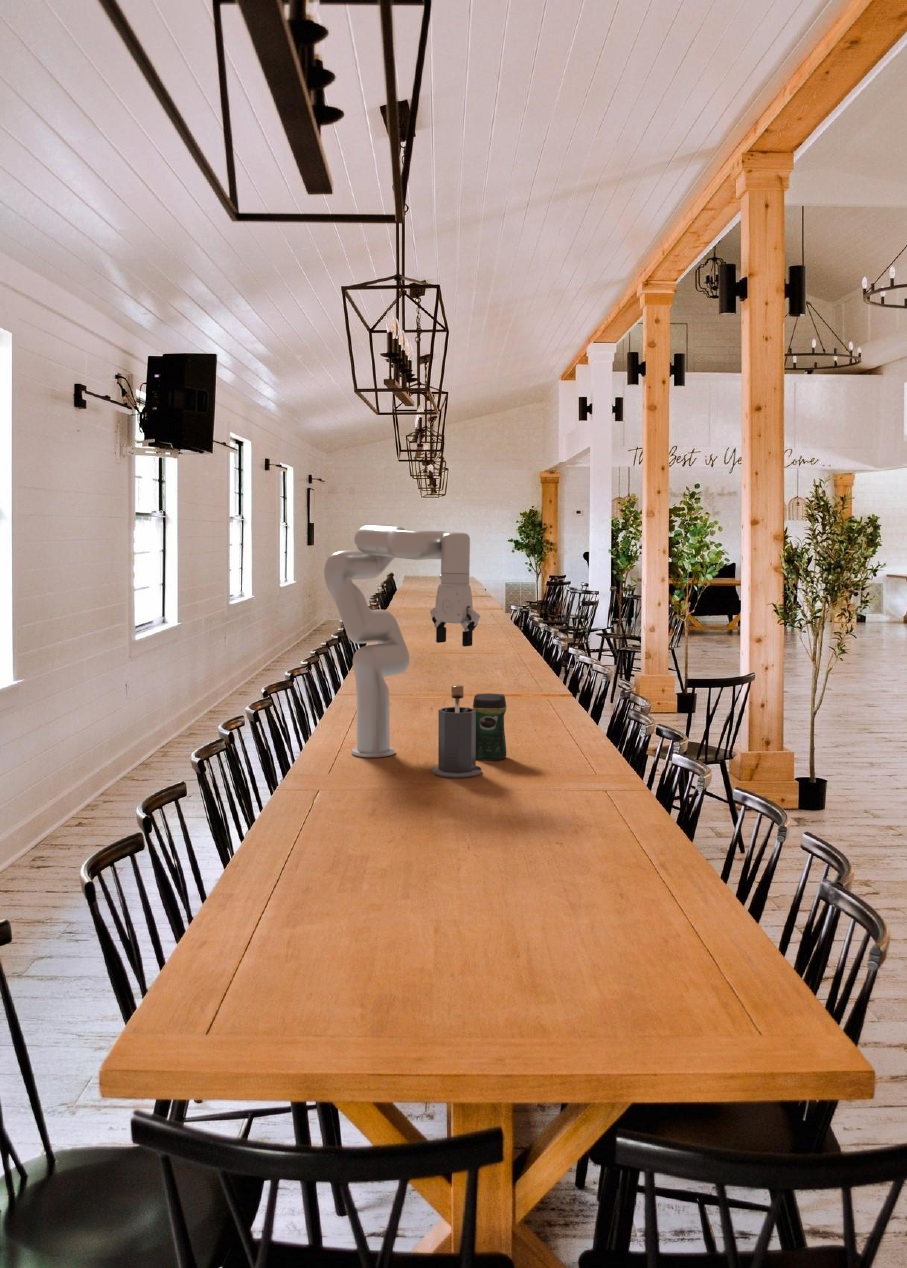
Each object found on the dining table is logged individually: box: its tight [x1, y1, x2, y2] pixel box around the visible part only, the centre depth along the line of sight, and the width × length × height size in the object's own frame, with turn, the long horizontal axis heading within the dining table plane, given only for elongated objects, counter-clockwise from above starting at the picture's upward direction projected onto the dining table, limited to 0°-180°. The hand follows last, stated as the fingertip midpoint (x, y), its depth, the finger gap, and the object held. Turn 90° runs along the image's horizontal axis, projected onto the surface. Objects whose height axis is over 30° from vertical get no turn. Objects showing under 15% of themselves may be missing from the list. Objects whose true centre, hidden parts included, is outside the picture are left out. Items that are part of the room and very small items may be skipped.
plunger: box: [450, 684, 464, 713], centre depth 277 cm, size 7×7×22 cm
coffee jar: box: [472, 692, 507, 761], centre depth 295 cm, size 10×8×19 cm
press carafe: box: [432, 706, 482, 779], centre depth 278 cm, size 14×13×17 cm
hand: (454, 644), depth 275 cm, fingers open, 9 cm apart
